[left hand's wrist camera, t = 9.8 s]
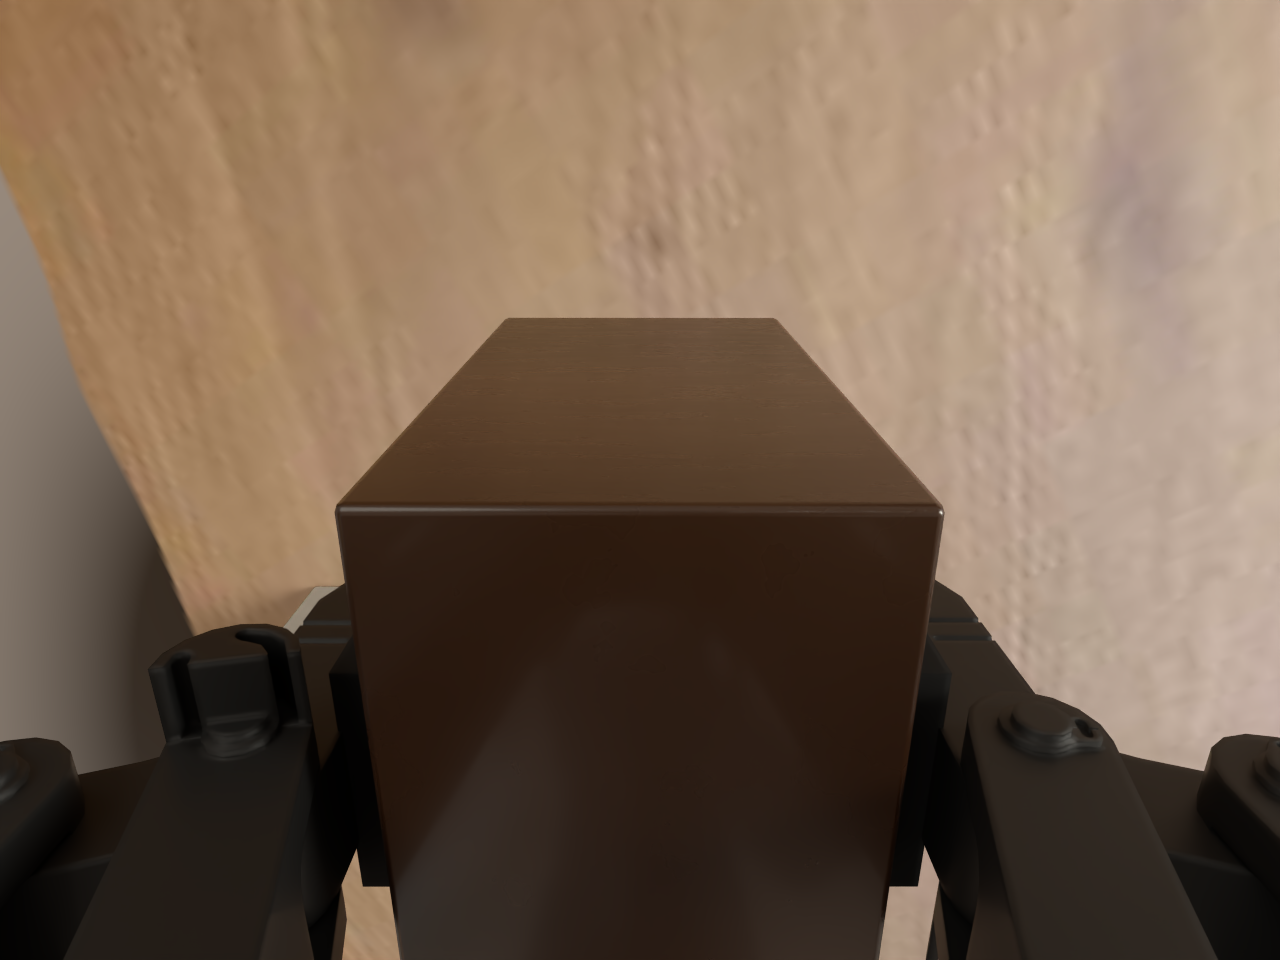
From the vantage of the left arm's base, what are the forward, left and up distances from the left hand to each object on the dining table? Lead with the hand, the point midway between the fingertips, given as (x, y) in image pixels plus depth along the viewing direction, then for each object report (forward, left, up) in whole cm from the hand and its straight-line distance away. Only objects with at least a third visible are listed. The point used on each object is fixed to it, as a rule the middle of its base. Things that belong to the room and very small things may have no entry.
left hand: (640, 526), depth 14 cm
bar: (+9, 0, 0) cm, 9 cm away
